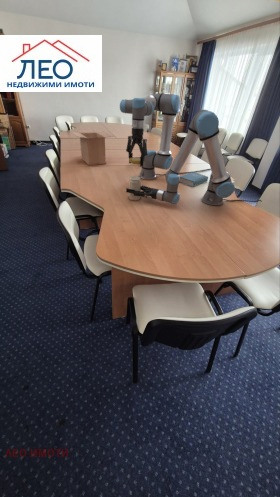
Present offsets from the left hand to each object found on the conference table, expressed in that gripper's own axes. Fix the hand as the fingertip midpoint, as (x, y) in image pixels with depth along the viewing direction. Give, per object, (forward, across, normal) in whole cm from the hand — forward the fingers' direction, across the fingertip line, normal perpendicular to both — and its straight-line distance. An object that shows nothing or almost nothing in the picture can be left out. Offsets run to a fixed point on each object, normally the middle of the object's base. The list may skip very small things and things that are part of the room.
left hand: (136, 164), depth 152 cm
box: (+25, -91, +44) cm, 104 cm away
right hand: (+18, -4, -1) cm, 18 cm away
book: (+25, +16, +66) cm, 73 cm away
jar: (+25, 0, 0) cm, 25 cm away
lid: (-3, 0, 0) cm, 3 cm away
